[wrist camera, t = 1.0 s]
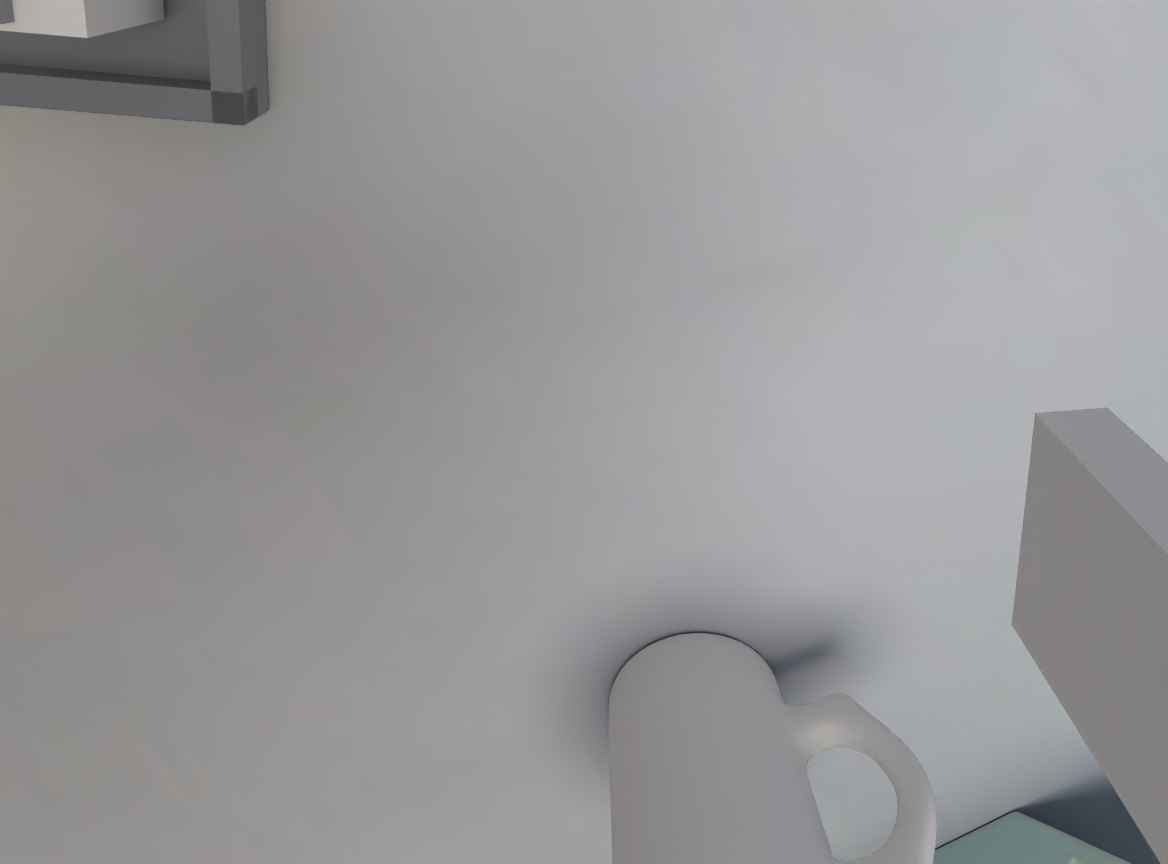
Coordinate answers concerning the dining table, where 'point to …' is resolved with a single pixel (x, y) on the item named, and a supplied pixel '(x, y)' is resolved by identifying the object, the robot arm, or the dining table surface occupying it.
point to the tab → (77, 16)
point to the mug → (739, 763)
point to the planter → (1021, 845)
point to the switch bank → (149, 66)
